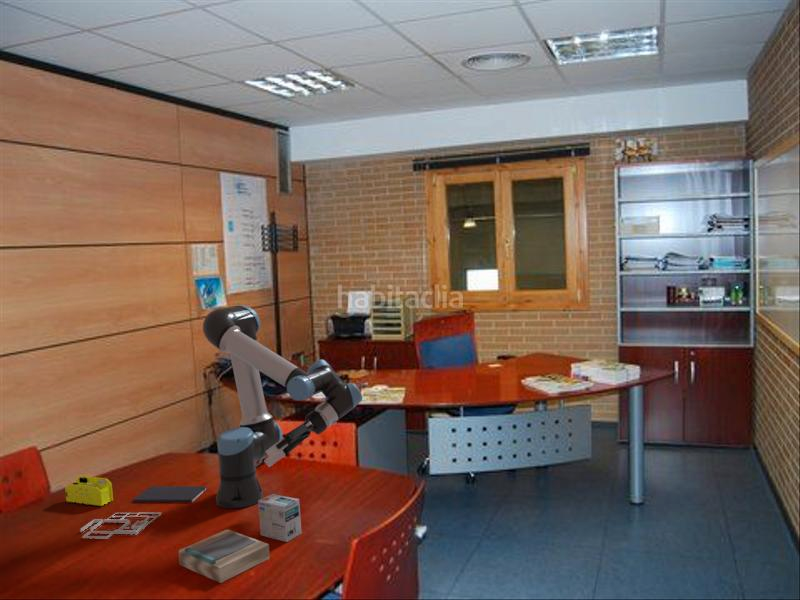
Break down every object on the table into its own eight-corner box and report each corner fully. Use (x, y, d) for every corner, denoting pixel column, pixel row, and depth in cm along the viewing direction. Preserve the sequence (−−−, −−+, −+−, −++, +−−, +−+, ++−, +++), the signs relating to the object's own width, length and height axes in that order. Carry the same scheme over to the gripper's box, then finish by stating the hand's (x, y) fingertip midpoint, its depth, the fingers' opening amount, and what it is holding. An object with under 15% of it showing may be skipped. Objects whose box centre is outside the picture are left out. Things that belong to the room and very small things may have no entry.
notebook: (132, 504, 231) (192, 504, 228) (132, 499, 230) (192, 499, 228) (151, 490, 243) (207, 490, 240) (150, 486, 243) (207, 485, 240)
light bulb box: (302, 534, 198) (300, 498, 198) (286, 543, 193) (284, 506, 192) (275, 527, 204) (273, 492, 203) (259, 535, 198) (257, 500, 198)
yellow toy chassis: (114, 502, 232) (112, 478, 231) (101, 508, 227) (99, 484, 226) (79, 497, 238) (77, 474, 237) (65, 503, 233) (63, 480, 232)
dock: (179, 564, 182) (178, 546, 182) (228, 542, 195) (227, 525, 194) (220, 583, 171) (219, 563, 171) (269, 558, 184) (268, 539, 183)
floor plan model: (59, 550, 196) (59, 543, 196) (107, 515, 221) (107, 509, 221) (120, 551, 194) (119, 544, 194) (161, 516, 219) (161, 510, 218)
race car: (246, 475, 254) (245, 462, 253) (231, 474, 256) (230, 461, 256) (269, 461, 269) (269, 449, 268) (255, 460, 271) (254, 448, 271)
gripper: (332, 417, 208) (276, 460, 199) (323, 436, 230) (272, 476, 221) (317, 398, 209) (261, 440, 200) (310, 419, 231) (259, 458, 222)
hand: (267, 459), depth 211 cm, fingers open, 13 cm apart
